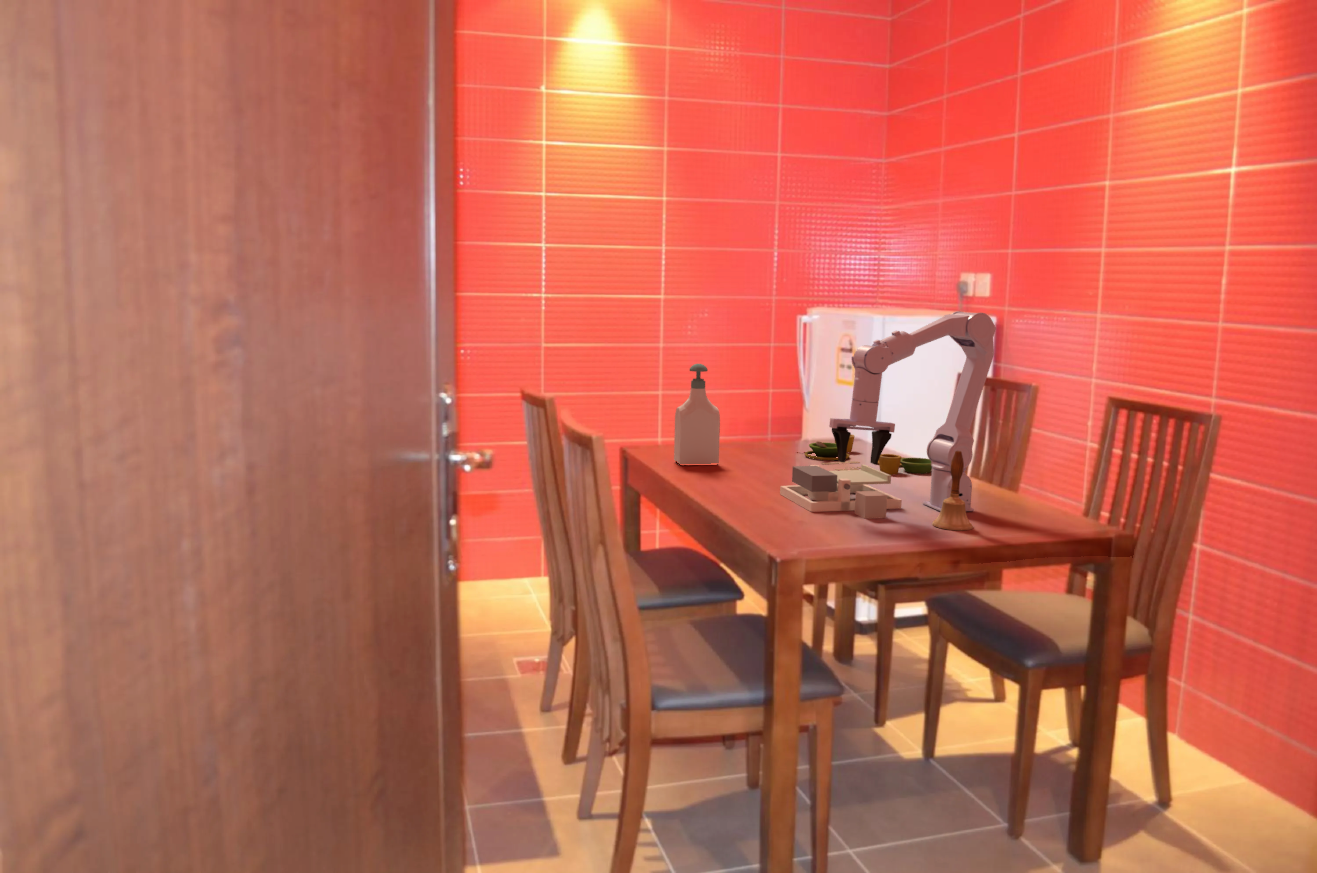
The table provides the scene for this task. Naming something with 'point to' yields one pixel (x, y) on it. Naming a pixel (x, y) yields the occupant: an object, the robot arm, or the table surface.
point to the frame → (832, 497)
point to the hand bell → (954, 501)
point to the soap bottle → (697, 425)
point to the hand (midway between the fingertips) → (857, 462)
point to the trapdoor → (836, 477)
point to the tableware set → (886, 461)
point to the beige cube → (870, 504)
